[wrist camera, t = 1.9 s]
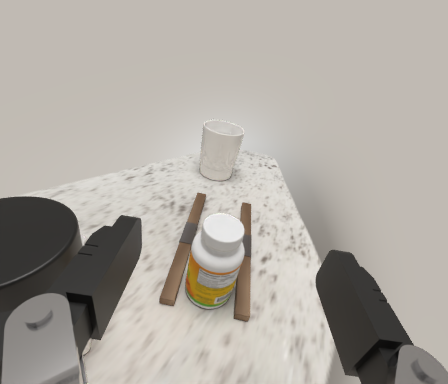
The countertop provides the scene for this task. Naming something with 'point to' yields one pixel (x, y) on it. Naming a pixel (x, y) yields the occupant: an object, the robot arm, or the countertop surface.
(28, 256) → the jar
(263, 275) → the countertop surface
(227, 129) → the white cup
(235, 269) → the supplement bottle
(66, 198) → the countertop surface
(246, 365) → the countertop surface
